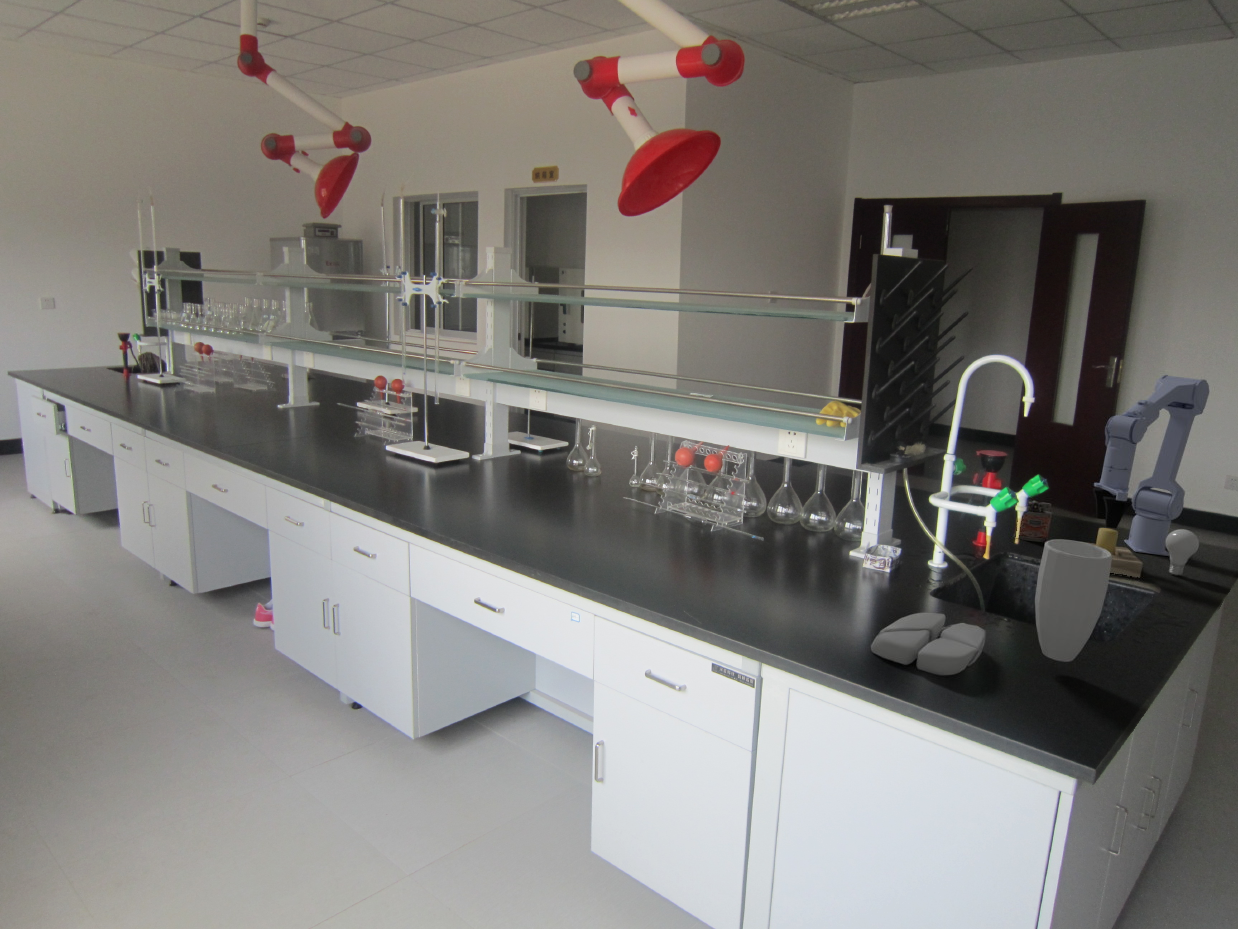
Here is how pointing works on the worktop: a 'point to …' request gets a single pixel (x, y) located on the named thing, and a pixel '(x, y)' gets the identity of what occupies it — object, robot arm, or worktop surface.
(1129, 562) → the socket block
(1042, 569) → the cup
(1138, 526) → the robot arm
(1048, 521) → the lighter
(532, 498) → the worktop surface
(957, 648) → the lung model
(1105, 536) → the dowel
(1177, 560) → the lightbulb
